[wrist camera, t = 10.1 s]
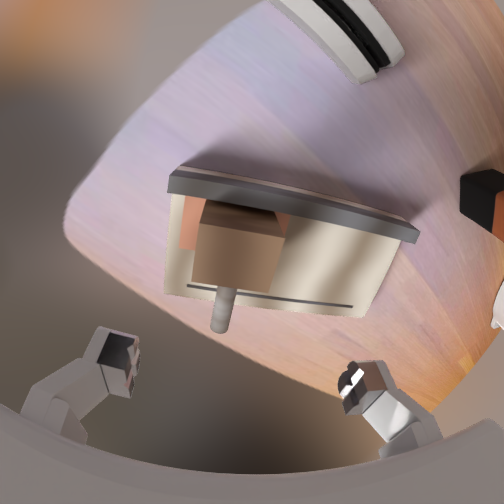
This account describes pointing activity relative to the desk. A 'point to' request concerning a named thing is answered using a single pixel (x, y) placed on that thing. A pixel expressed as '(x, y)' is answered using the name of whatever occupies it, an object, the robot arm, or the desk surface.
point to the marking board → (289, 243)
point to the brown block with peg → (235, 254)
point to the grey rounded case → (346, 34)
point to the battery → (484, 200)
